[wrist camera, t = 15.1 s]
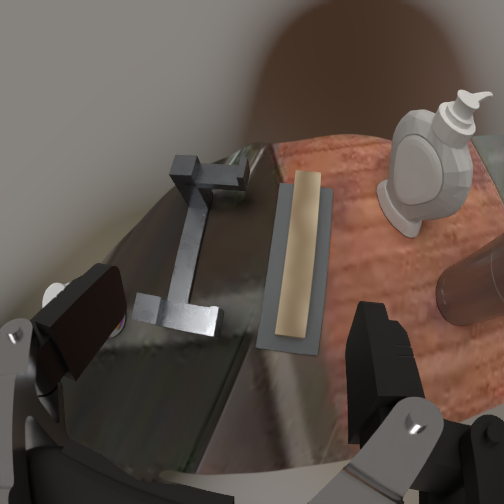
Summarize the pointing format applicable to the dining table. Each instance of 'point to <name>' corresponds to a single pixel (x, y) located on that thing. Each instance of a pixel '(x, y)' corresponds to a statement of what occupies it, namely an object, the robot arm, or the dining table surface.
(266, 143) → the dining table surface
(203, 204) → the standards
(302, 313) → the rail
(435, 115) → the soap bottle
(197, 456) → the dining table surface
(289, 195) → the mat
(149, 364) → the dining table surface
